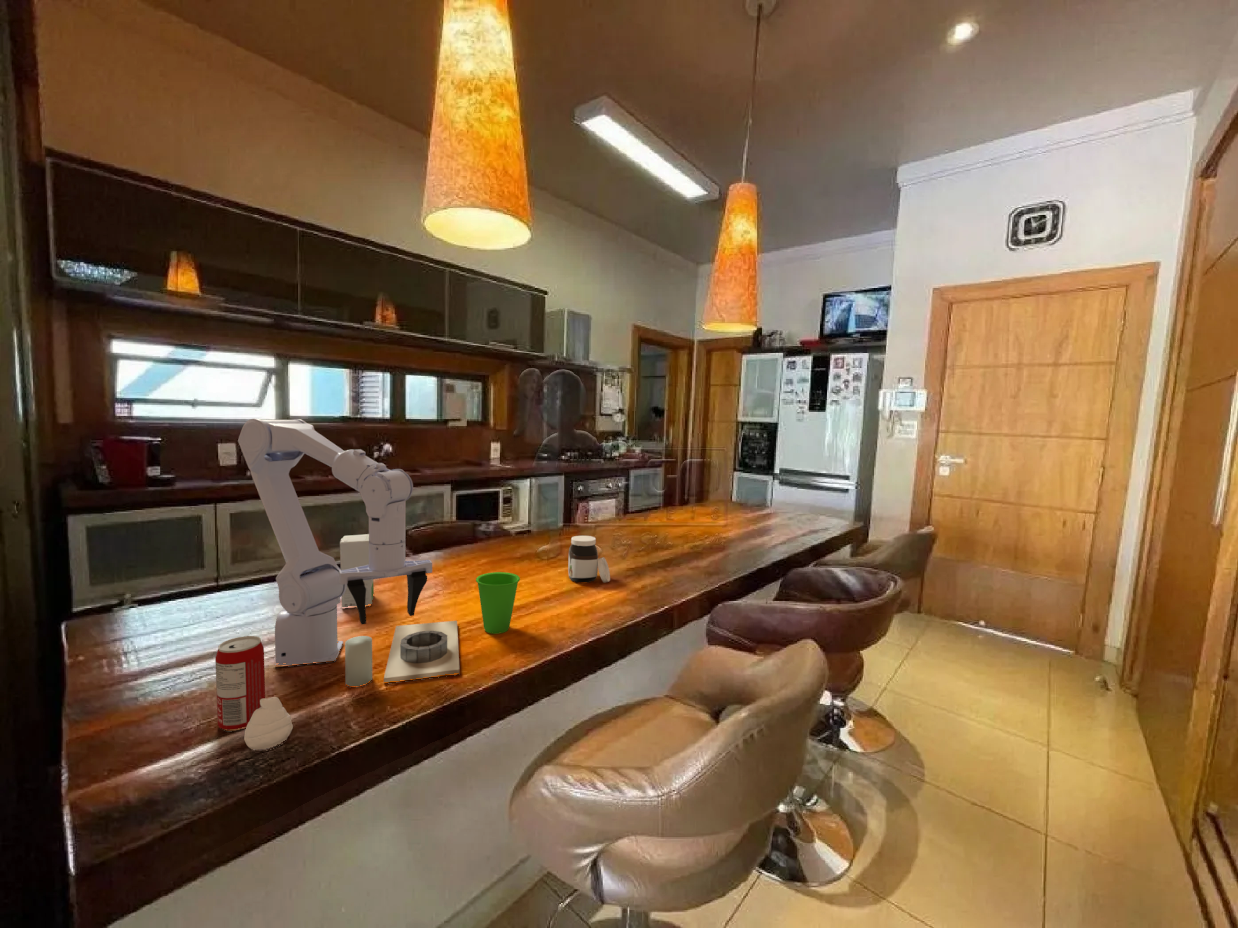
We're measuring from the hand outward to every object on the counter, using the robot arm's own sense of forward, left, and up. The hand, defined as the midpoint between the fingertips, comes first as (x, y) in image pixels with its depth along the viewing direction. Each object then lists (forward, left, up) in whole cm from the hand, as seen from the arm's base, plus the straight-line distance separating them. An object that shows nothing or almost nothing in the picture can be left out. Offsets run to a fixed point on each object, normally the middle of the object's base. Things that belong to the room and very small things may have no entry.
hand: (387, 618), depth 89 cm
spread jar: (+48, +41, -10) cm, 64 cm away
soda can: (-18, -11, -10) cm, 23 cm away
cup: (+20, +13, -10) cm, 26 cm away
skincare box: (-10, +36, -10) cm, 39 cm away
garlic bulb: (-13, -17, -10) cm, 23 cm away
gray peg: (-4, -3, -10) cm, 11 cm away
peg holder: (+6, +6, -10) cm, 13 cm away
